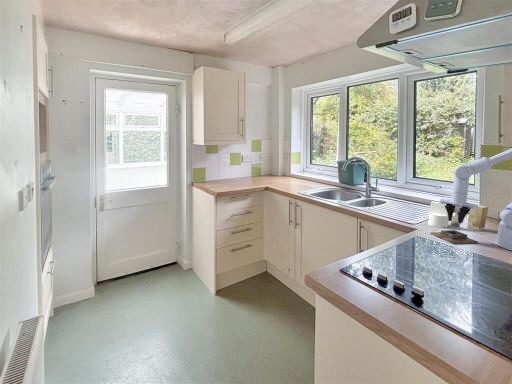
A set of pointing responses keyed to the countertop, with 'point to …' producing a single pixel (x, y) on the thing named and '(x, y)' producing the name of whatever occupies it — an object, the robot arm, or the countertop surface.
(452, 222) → the clear glass cylinder
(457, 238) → the dock
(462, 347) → the countertop surface
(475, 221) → the skincare box
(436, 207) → the cylinder with rectangular tab
